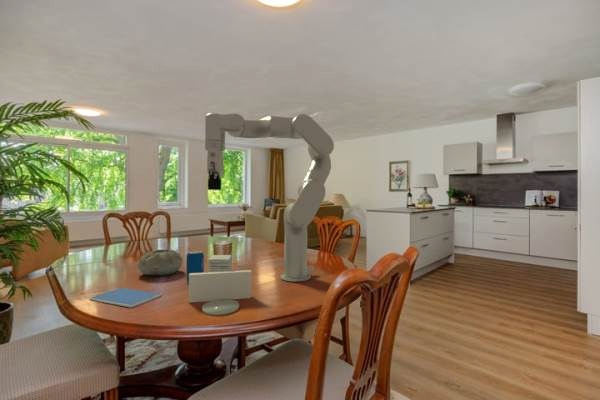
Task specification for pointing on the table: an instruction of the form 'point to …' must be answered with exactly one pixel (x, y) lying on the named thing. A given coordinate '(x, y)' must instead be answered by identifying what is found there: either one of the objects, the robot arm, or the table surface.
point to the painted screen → (219, 285)
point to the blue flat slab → (126, 297)
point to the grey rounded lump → (160, 262)
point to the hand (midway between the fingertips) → (214, 189)
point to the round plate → (220, 307)
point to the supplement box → (220, 263)
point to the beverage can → (195, 262)
